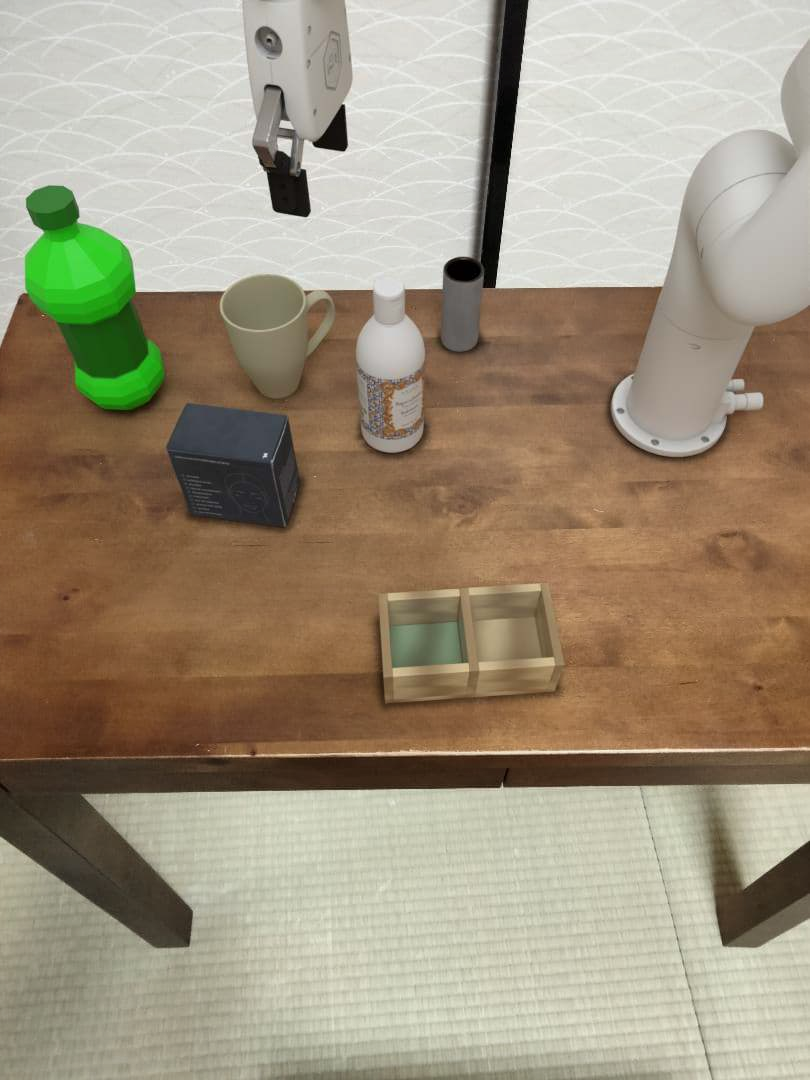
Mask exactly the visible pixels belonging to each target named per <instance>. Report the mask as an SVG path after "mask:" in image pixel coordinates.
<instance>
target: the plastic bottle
mask: <svg viewBox="0 0 810 1080" xmlns="http://www.w3.org/2000/svg"><path fill="white" fill-rule="evenodd" d="M25 208H26V211H27V213H28V215H29V217H30V219H31V222H32V224H33V225H34V226H35V227H37V228H39V229H40V230H42V231H43V233H42V234H41V236H39V238H38V239H37V240H36V241H35V242H34V244H33V245H32V246H31V247H30V249H29V250H28V251H27V253H26V254H25V255H24V289H25V291H26V293H27V295H28V297H29V299H30V300H31V302H32V303H33V304H34V305H35V307H36V308H37V309H38V310H40V311H41V312H42V313H44V314H45V315H47V316H48V317H50V318H51V319H52V320H54V321H55V322H56V324H57V326H58V328H59V330H60V332H61V334H62V337H63V340H64V341H65V343H66V345H67V347H68V349H69V352H70V354H71V356H72V358H73V360H74V363H73V365H74V366H73V367H74V384H75V386H76V387H77V390H78V391H79V392H80V393H81V394H82V395H84V396H85V397H86V398H87V399H89V400H90V401H91V402H93V403H94V404H95V405H97V406H98V407H100V408H101V409H104V410H115V411H116V410H117V411H132V410H135V409H137V408H140V407H142V406H144V405H145V404H146V403H148V402H150V400H151V399H152V398H153V396H154V395H155V393H157V391H158V390H159V389H160V387H162V385H163V383H164V380H165V379H164V378H165V369H164V363H163V362H164V361H163V356H162V353H161V350H160V348H159V347H158V346H157V345H156V344H155V343H154V342H153V341H151V340H150V339H149V338H147V336H146V334H145V330H144V328H143V325H142V323H141V322H142V321H141V320H140V317H139V314H138V311H137V307H136V306H135V302H134V300H133V296H134V295H135V294H136V293H137V288H136V279H135V278H136V277H135V271H134V270H135V269H134V262H133V258H132V256H131V253H130V250H129V249H128V247H127V246H126V245H125V244H124V243H123V242H122V241H121V240H120V239H119V238H116V237H115V236H114V235H112V234H110V233H108V232H107V231H105V230H103V229H102V228H100V227H96V226H93V225H90V224H86V223H82V222H81V223H80V222H78V219H79V218H80V217H81V216H80V208H79V205H78V203H77V200H76V198H75V195H74V191H73V190H71V189H69V188H67V187H66V186H64V185H45V186H43V187H39V188H37V189H34V190H33V191H32V192H31V193H30V194H29V195H28V196H26V198H25Z"/></svg>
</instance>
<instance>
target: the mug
mask: <svg viewBox="0 0 810 1080" xmlns="http://www.w3.org/2000/svg"><path fill="white" fill-rule="evenodd" d="M321 300H325V302H326V314H325V317H324V319H323V320H322V323H321V324H320V326H319V327H318V328H317V330H316V331H315V333H314V334H313V336H312V337H311V338H310V339H309V331H308V313H309V310H311V309H312V307H313V306H314V305H315V304H316V303H317V302H319V301H321ZM219 311H220V315H221V317H222V320H223V321H222V322H223V324H224V327H225V329H226V333H227V336H228V339H229V342H230V344H231V347H232V350H233V352H234V355H235V357H236V359H237V361H238V363H239V364H240V366H241V368H242V370H243V371H244V372H245V373H246V375H247V376H248V378H249V379H250V381H251V382H252V383H253V385H254V386H255V387H256V389H257V390H258V392H259V393H260V394H261V395H262V396H264V397H266V398H269V399H276V400H277V399H284V398H287V397H289V396H291V395H292V394H294V393H295V392H296V391H297V389H298V387H299V386H300V381H301V377H302V374H303V370H304V367H305V363H306V359H307V358H308V357H309V356H310V355H311V354H312V353H313V352H314V350H315V349H316V348H317V347H318V346H319V345H320V343H321V342H322V341H323V339H324V338H325V337H326V335H327V334H328V333H329V331H330V329H331V327H332V326H333V324H334V320H335V316H336V309H335V303H334V301H333V298H332V297H331V295H330V294H329V293H328V292H326V291H325V290H322V289H316V290H313V291H311V292H310V293H308V294H307V295H306V293H305V290H304V289H303V287H301V285H300V284H299V283H298V282H296V281H295V280H294V279H292V278H289V277H288V276H284V275H280V274H274V273H260V274H254V275H253V274H252V275H249V276H246V277H243V278H241V279H238V280H237V281H235V282H233V283H232V284H231V285H229V286H228V287H227V288H226V290H225V291H224V292H223V293H222V296H221V298H220V300H219Z"/></svg>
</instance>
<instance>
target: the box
mask: <svg viewBox="0 0 810 1080" xmlns="http://www.w3.org/2000/svg"><path fill="white" fill-rule="evenodd" d="M289 420H290V419H289V415H287V414H281V413H280V414H279V413H273V412H265V411H256V410H250V409H249V410H248V409H240V408H232V407H226V406H225V407H223V406H216V405H207V404H199V403H192V402H191V403H190V402H186V403H185V405H184V407H183V409H182V410H181V413H180V415H179V417H178V419H177V422H176V424H175V426H174V427H173V430H172V433H171V435H170V436H169V439H168V441H167V443H166V446H165V449H166V452H167V454H168V457H169V460H170V462H171V463H170V464H171V465H172V468H173V471H174V473H175V476H176V479H177V482H178V484H179V487H180V489H181V492H182V494H183V498H184V501H185V503H186V506H187V508H188V512H189V513H190V516H194V517H195V516H196V517H204V518H212V519H221V520H226V521H227V520H229V521H234V522H240V523H241V522H242V523H247V524H256V525H263V526H271V527H277V528H286V527H287V525H288V523H289V519H290V518H291V515H292V512H293V508H294V505H295V503H296V499H297V496H298V492H299V487H300V484H301V479H300V474H299V469H298V463H297V459H296V453H295V448H294V442H293V439H292V438H293V436H292V431H291V424H290V421H289Z"/></svg>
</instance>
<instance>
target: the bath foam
mask: <svg viewBox="0 0 810 1080" xmlns="http://www.w3.org/2000/svg"><path fill="white" fill-rule="evenodd" d="M372 301H373V302H372V303H373V304H372V305H373V315H372V316H371V317H370V318H369V319H368V320H367V321H366V323H365V324H364V325H363V327H362V328H361V330H360V332H359V335H358V337H357V341H356V347H355V365H356V366H355V367H356V379H357V389H358V390H357V393H358V406H359V420H360V430H361V435H362V437H363V439H364V441H365V442H366V443H367V444H368V445H369V446H370V447H372V448H373V449H374V450H377V451H379V452H383V453H388V454H389V453H390V454H395V453H402V452H405V451H407V450H410V449H411V448H412V447H414V446H416V445H417V443H419V442H420V440H421V438H422V437H423V434H424V424H425V423H424V422H425V393H426V392H425V391H426V389H425V387H426V386H425V384H426V347H425V343H424V339H423V336H422V334H421V331H420V329H419V328H418V326H417V325H416V323H414V321H413V320H412V319H411V317H409V316H408V315H407V314H406V287H405V284H404V282H403V281H402V280H401V279H400V278H399V277H396V276H392V275H386V276H382V277H380V278H378V279H376V280H375V281H374V283H373V285H372Z"/></svg>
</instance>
